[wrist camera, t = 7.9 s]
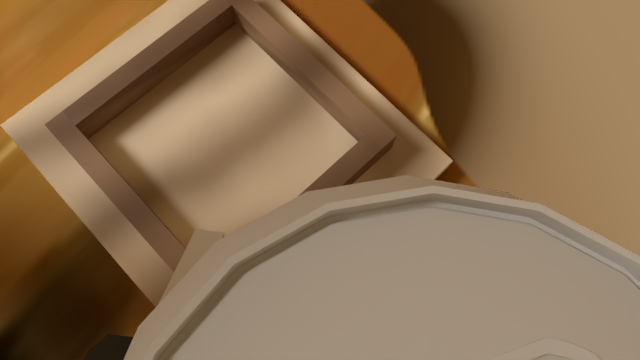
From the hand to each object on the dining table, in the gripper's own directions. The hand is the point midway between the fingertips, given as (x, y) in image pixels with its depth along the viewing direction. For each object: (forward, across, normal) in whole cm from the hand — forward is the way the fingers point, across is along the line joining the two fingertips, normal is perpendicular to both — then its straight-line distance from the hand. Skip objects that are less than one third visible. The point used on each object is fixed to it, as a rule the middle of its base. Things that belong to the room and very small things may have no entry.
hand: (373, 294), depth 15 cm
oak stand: (+19, -8, -6) cm, 21 cm away
